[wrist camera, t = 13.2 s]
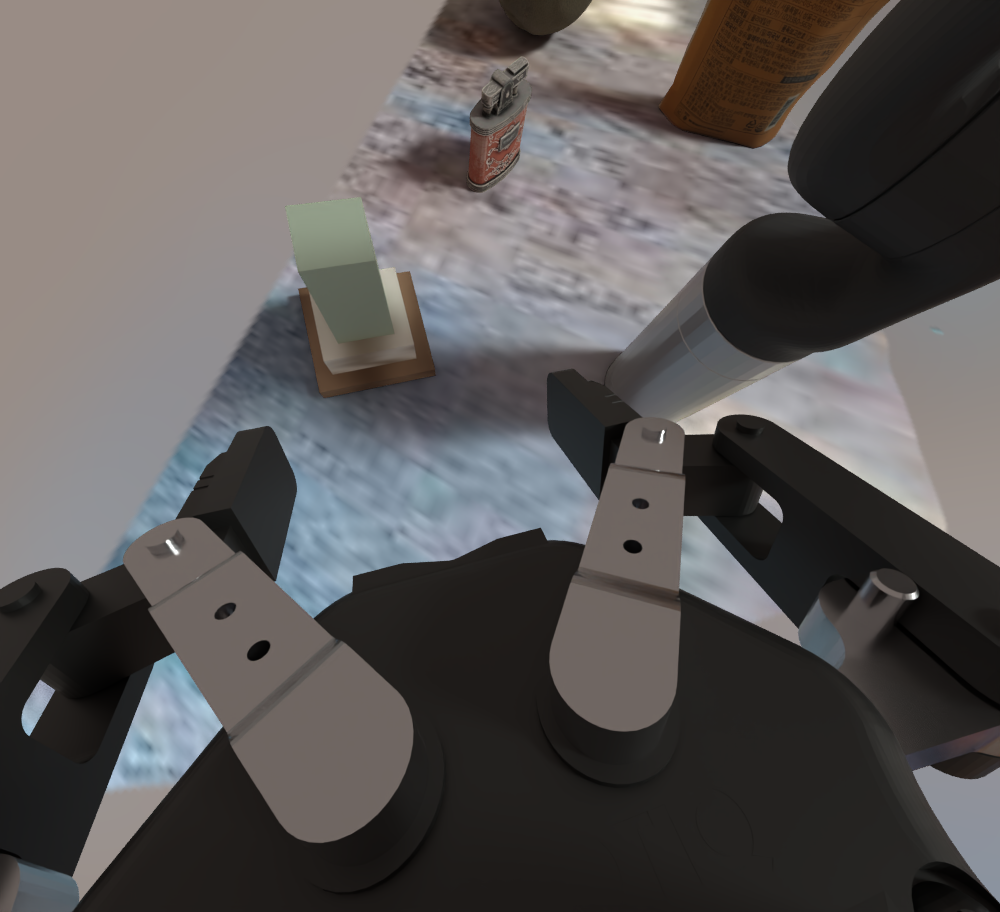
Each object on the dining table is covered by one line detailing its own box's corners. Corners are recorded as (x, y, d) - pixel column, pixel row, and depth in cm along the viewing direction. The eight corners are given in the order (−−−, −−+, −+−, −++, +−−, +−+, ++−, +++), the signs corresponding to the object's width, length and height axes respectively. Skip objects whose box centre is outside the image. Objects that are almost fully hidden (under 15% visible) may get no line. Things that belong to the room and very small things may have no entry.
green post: (383, 285, 38) (360, 197, 28) (394, 333, 37) (375, 260, 27) (327, 293, 37) (284, 206, 27) (338, 343, 36) (298, 271, 26)
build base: (411, 280, 43) (406, 251, 39) (435, 375, 41) (434, 356, 37) (303, 297, 41) (286, 268, 37) (324, 398, 39) (308, 380, 35)
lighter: (482, 198, 46) (491, 108, 37) (459, 180, 46) (462, 85, 37) (525, 158, 48) (545, 62, 39) (503, 140, 48) (518, 40, 39)
